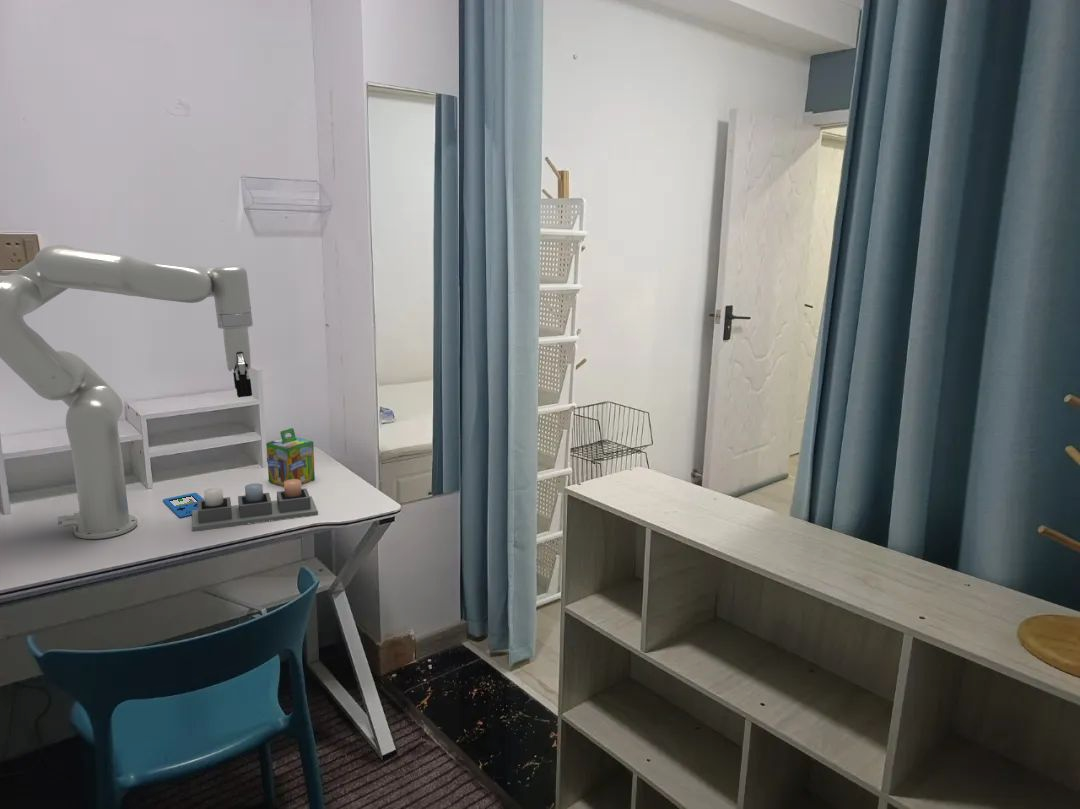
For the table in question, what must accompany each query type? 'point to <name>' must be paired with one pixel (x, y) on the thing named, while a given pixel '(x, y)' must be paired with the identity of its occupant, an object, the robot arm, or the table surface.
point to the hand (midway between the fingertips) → (243, 392)
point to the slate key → (254, 492)
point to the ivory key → (213, 496)
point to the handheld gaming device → (183, 505)
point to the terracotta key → (292, 487)
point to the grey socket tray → (252, 510)
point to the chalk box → (290, 459)
